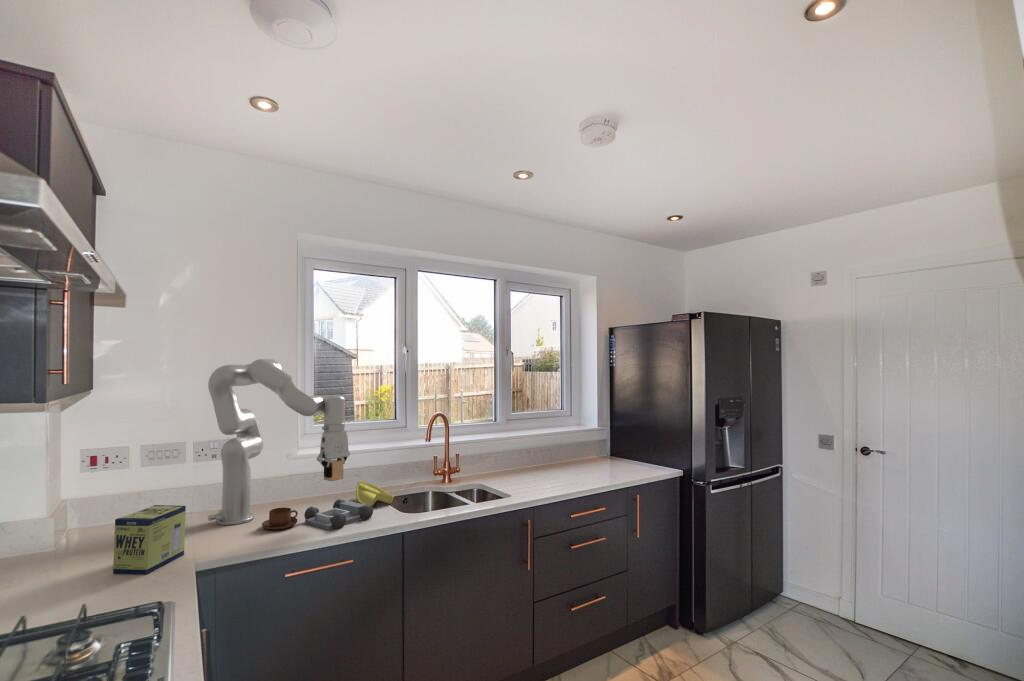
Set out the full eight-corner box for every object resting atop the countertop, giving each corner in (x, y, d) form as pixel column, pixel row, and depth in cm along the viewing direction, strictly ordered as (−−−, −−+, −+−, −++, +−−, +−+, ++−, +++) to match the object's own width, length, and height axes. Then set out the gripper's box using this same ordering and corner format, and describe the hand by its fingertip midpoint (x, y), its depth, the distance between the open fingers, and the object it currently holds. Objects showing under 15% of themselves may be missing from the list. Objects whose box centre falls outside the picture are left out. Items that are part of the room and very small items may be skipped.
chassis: (332, 531, 180) (332, 516, 180) (302, 522, 189) (302, 508, 190) (374, 516, 197) (375, 503, 197) (345, 510, 206) (345, 497, 207)
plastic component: (396, 497, 216) (376, 491, 210) (388, 515, 214) (368, 508, 208) (375, 485, 232) (356, 479, 226) (367, 501, 230) (348, 495, 224)
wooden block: (332, 481, 188) (332, 462, 188) (323, 479, 191) (324, 461, 191) (343, 478, 192) (343, 460, 193) (334, 477, 195) (334, 459, 195)
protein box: (111, 574, 142) (113, 519, 143) (153, 554, 158) (155, 504, 159) (146, 575, 142) (148, 519, 143) (185, 554, 157) (186, 504, 158)
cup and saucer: (284, 520, 193) (284, 504, 193) (304, 525, 187) (304, 508, 187) (254, 528, 183) (255, 511, 183) (274, 534, 177) (275, 516, 177)
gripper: (321, 431, 183) (320, 481, 182) (358, 426, 198) (357, 472, 197) (308, 430, 187) (307, 479, 186) (345, 425, 202) (345, 470, 201)
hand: (333, 475), depth 192 cm, fingers closed on wooden block, 5 cm apart
